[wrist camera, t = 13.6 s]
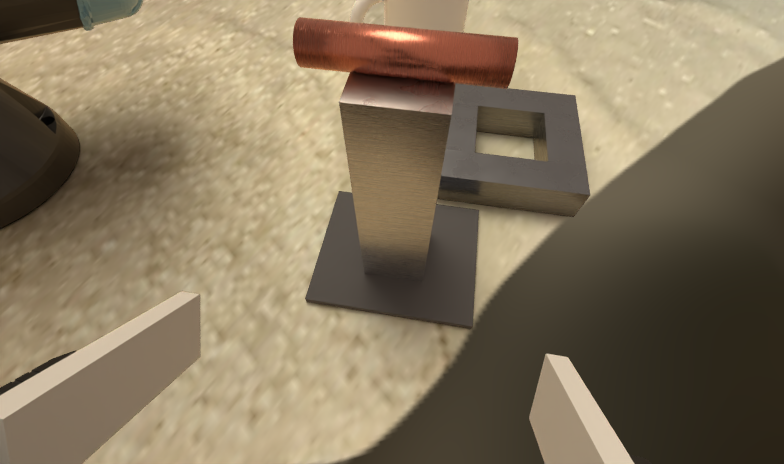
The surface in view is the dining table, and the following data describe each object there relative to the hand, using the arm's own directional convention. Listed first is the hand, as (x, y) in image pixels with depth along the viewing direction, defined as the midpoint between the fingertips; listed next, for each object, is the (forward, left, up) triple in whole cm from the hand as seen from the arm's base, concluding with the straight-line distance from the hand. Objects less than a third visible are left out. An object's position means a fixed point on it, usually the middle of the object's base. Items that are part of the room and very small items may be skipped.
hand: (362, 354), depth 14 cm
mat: (0, +11, -11) cm, 15 cm away
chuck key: (0, +10, -11) cm, 15 cm away
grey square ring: (+8, +23, -11) cm, 26 cm away
